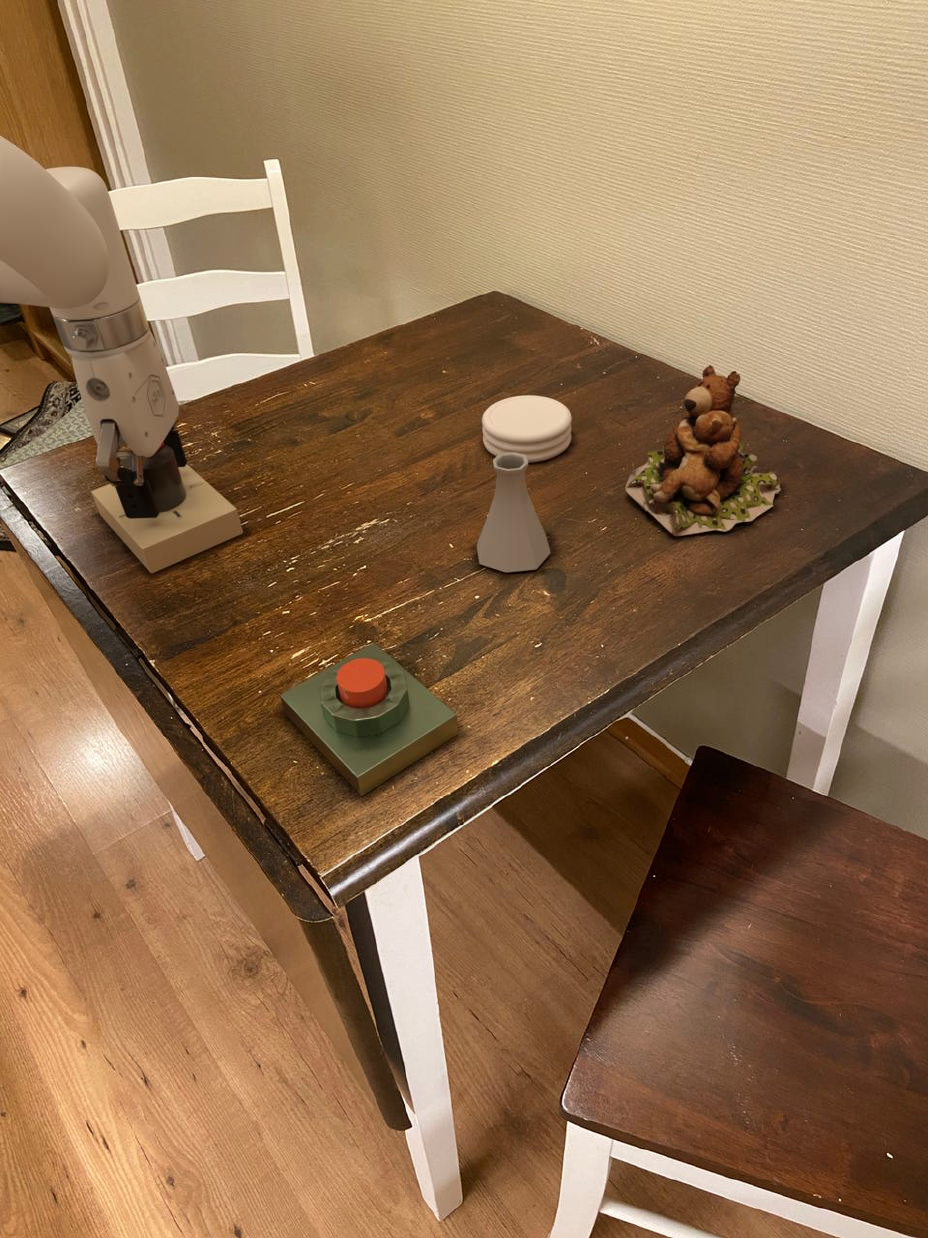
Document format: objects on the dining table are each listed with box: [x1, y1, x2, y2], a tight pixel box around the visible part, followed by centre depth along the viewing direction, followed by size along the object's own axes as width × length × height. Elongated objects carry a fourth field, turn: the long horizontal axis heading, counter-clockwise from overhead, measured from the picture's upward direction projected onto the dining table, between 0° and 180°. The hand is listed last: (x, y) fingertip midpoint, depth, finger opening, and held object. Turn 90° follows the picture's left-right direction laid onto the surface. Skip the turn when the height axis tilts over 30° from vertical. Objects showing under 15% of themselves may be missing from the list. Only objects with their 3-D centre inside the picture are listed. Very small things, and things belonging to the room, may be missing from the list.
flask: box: [476, 452, 551, 573], centre depth 81 cm, size 7×7×10 cm
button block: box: [279, 642, 460, 797], centre depth 67 cm, size 11×9×4 cm
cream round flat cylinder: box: [481, 395, 573, 464], centre depth 99 cm, size 10×10×4 cm
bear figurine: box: [625, 364, 782, 537], centre depth 86 cm, size 14×15×12 cm
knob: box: [121, 442, 186, 512], centre depth 88 cm, size 5×5×5 cm
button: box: [337, 658, 388, 708], centre depth 66 cm, size 4×4×2 cm
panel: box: [90, 463, 244, 574], centre depth 91 cm, size 14×10×3 cm
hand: (158, 490), depth 89 cm, fingers open, 9 cm apart
